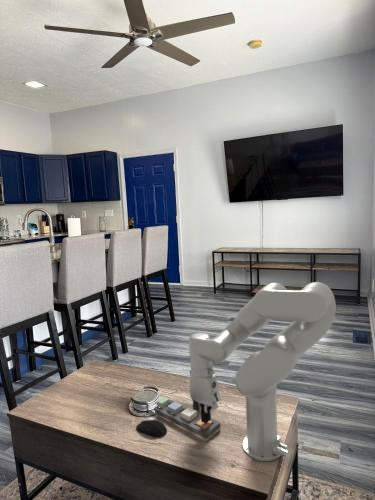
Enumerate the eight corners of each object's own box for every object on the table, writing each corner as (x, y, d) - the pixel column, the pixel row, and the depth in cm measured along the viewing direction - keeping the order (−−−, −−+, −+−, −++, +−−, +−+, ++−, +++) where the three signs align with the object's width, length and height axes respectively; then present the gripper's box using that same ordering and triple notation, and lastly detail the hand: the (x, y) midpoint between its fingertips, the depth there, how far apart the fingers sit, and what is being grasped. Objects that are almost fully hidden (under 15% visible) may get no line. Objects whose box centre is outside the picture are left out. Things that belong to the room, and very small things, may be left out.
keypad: (220, 429, 124) (220, 422, 124) (206, 441, 118) (205, 433, 118) (162, 402, 144) (162, 396, 143) (148, 411, 138) (147, 405, 138)
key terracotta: (212, 427, 124) (212, 421, 124) (205, 432, 121) (204, 427, 121) (203, 422, 127) (203, 417, 127) (196, 428, 124) (195, 422, 124)
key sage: (169, 403, 138) (169, 398, 138) (162, 408, 135) (161, 403, 135) (162, 400, 141) (162, 395, 140) (155, 404, 138) (154, 400, 138)
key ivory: (196, 416, 129) (196, 411, 128) (189, 421, 126) (189, 416, 125) (188, 412, 131) (188, 407, 131) (181, 417, 128) (181, 412, 128)
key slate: (182, 409, 133) (182, 404, 133) (175, 414, 130) (175, 409, 130) (175, 406, 136) (174, 401, 136) (167, 411, 133) (167, 406, 133)
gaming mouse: (136, 421, 132) (135, 410, 132) (170, 430, 126) (169, 420, 125) (125, 430, 127) (124, 420, 127) (161, 441, 120) (160, 430, 120)
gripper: (226, 371, 119) (230, 422, 121) (192, 361, 129) (197, 409, 131) (212, 380, 114) (216, 434, 115) (178, 369, 124) (183, 419, 125)
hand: (206, 420), depth 123 cm, fingers closed
